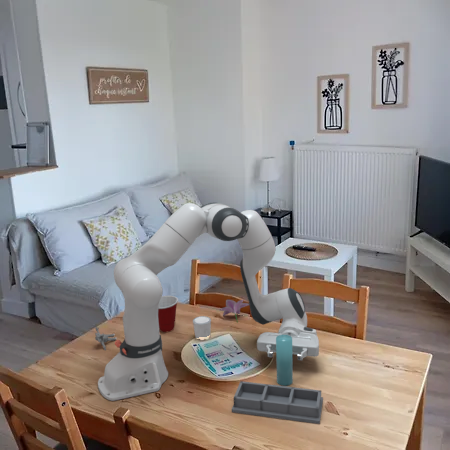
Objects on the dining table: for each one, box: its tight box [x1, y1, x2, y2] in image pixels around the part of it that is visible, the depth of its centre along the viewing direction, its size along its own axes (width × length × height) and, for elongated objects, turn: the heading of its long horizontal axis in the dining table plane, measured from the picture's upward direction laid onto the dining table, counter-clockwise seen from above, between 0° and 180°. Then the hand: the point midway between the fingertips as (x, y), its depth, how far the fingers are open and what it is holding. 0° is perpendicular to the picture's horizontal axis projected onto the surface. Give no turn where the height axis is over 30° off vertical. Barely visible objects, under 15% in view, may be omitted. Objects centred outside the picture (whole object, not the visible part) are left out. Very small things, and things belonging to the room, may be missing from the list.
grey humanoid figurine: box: [94, 326, 117, 351], centre depth 184 cm, size 10×6×9 cm
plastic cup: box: [158, 295, 179, 333], centre depth 193 cm, size 11×11×12 cm
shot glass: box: [192, 315, 212, 339], centre depth 186 cm, size 7×7×7 cm
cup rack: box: [231, 380, 324, 425], centre depth 144 cm, size 25×11×4 cm, turn 74°
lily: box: [219, 299, 250, 324], centre depth 199 cm, size 12×12×10 cm
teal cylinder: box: [275, 335, 294, 387], centre depth 154 cm, size 5×5×15 cm
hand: (284, 356), depth 156 cm, fingers open, 8 cm apart
